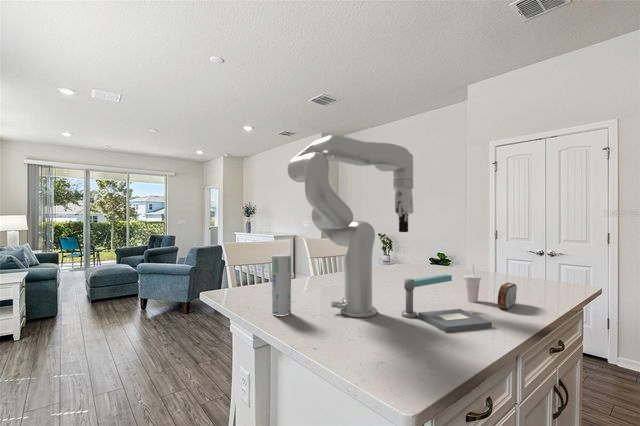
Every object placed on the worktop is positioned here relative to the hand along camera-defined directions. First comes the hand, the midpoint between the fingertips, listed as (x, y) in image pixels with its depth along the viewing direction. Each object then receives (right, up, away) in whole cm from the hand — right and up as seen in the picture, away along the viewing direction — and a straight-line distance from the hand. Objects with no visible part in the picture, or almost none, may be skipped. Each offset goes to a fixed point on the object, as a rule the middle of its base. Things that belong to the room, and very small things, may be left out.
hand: (403, 231), depth 122 cm
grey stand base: (+6, -27, -22) cm, 35 cm away
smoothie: (+27, -27, 0) cm, 38 cm away
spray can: (-46, -27, -15) cm, 55 cm away
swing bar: (+5, -18, -12) cm, 22 cm away
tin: (+36, -27, -8) cm, 46 cm away
